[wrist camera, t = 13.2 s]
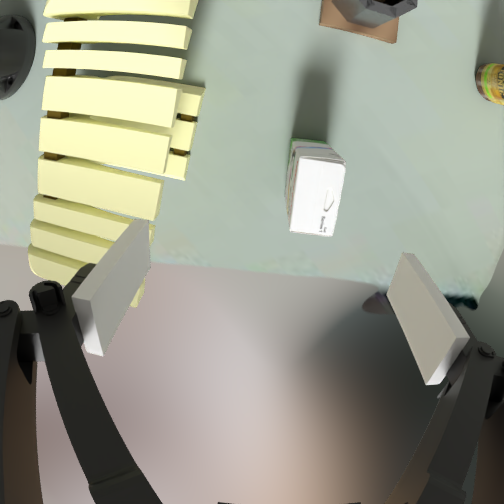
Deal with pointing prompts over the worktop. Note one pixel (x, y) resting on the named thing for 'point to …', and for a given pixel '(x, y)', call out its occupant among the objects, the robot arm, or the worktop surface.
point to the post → (337, 21)
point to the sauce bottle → (491, 82)
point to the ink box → (313, 187)
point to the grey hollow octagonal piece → (373, 11)
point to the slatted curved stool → (107, 130)
